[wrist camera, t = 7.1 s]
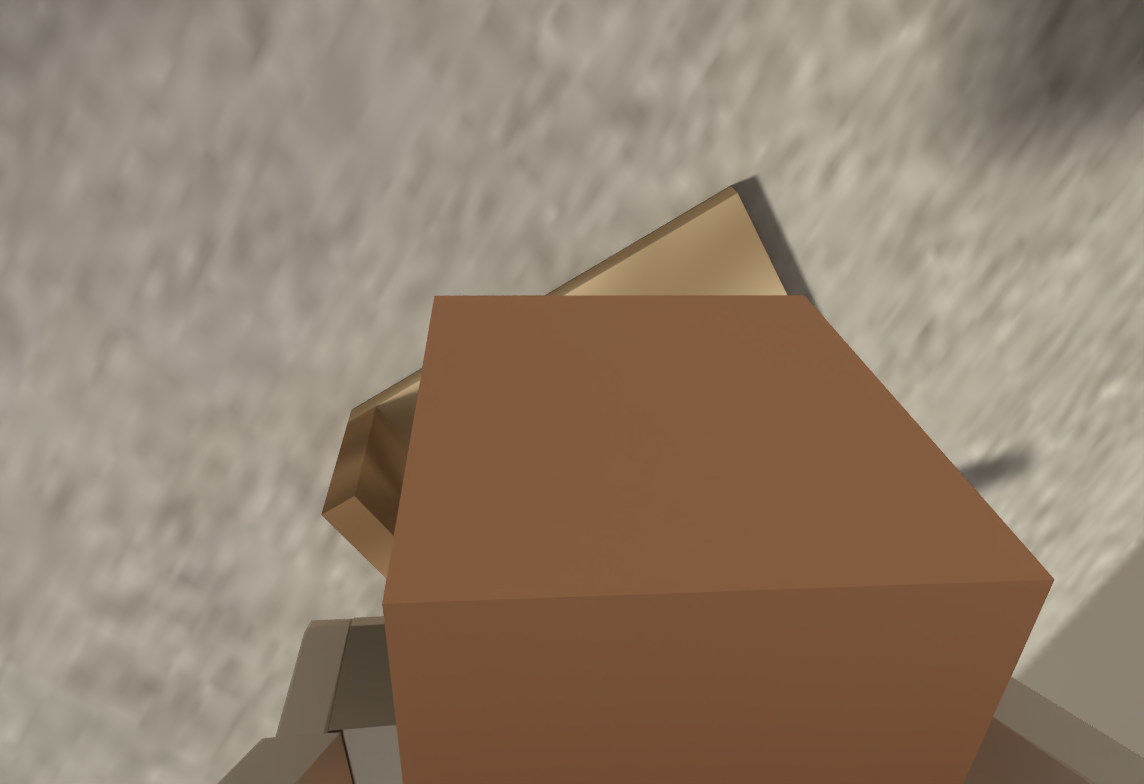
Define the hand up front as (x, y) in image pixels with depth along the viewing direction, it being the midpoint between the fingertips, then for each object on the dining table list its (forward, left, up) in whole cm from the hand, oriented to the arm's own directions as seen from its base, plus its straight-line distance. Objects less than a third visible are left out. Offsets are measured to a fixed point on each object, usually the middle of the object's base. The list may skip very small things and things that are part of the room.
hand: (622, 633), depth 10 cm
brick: (0, 0, -2) cm, 2 cm away
